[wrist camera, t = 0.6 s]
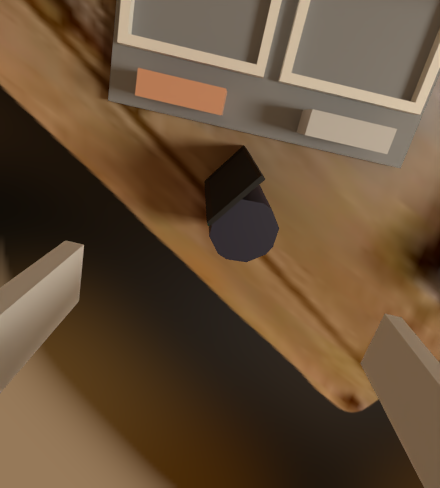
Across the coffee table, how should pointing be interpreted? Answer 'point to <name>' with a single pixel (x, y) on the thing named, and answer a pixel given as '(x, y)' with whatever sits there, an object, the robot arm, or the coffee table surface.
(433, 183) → the coffee table surface
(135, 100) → the dock board
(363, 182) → the coffee table surface
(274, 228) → the speaker
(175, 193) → the coffee table surface
